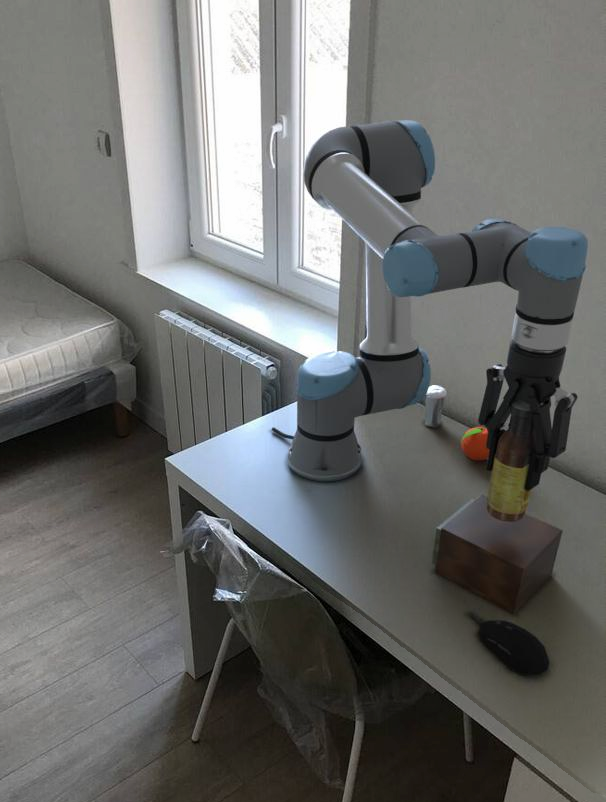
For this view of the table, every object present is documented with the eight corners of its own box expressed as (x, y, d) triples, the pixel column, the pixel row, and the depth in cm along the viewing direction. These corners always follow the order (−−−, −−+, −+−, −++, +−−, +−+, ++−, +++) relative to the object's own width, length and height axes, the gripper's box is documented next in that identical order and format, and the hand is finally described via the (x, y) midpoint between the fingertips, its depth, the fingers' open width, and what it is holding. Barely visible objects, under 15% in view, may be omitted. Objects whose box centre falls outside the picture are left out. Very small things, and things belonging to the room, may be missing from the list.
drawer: (425, 560, 136) (430, 524, 132) (462, 529, 143) (467, 494, 138) (502, 600, 127) (510, 564, 123) (537, 565, 134) (546, 530, 129)
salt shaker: (416, 418, 177) (420, 379, 171) (440, 418, 176) (445, 379, 171) (419, 429, 173) (424, 389, 167) (444, 428, 173) (449, 389, 167)
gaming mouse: (484, 607, 127) (488, 590, 125) (557, 667, 116) (562, 649, 114) (455, 622, 125) (458, 604, 123) (526, 685, 114) (531, 667, 112)
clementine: (465, 470, 159) (470, 441, 155) (448, 453, 165) (452, 424, 161) (500, 463, 161) (505, 434, 157) (482, 446, 166) (487, 417, 162)
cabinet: (435, 572, 135) (441, 528, 129) (474, 537, 142) (482, 494, 136) (513, 614, 126) (523, 568, 120) (551, 574, 133) (563, 530, 127)
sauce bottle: (527, 525, 123) (552, 418, 112) (486, 522, 124) (506, 415, 113) (523, 501, 128) (546, 395, 117) (483, 497, 129) (503, 393, 118)
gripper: (465, 329, 114) (447, 460, 127) (586, 374, 101) (553, 514, 114) (496, 315, 117) (476, 443, 131) (617, 356, 105) (581, 494, 118)
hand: (512, 476), depth 122 cm, fingers closed on sauce bottle, 6 cm apart
